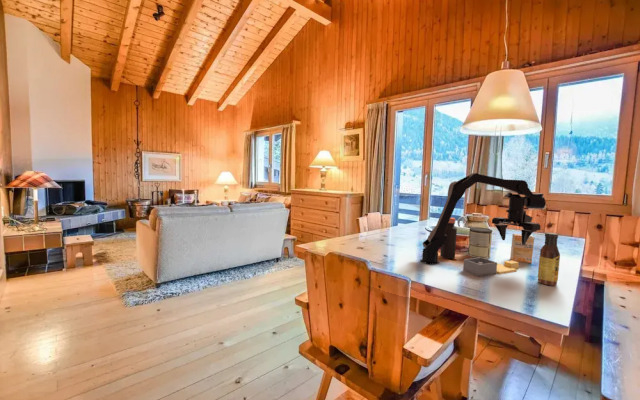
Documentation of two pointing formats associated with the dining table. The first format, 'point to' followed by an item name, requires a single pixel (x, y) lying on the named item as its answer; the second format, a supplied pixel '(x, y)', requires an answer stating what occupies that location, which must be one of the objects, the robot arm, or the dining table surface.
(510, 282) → the dining table surface
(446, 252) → the vinegar
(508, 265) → the lid
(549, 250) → the sauce bottle
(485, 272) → the tub
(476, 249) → the coffee can
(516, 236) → the supplement box
